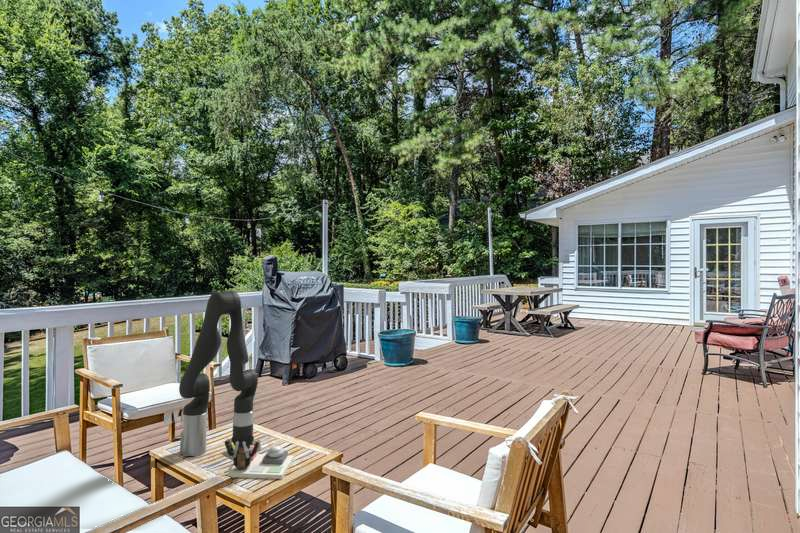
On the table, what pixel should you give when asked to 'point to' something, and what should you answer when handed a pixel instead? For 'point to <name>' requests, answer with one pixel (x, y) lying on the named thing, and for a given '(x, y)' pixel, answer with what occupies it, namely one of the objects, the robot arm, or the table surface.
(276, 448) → the dome
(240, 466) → the pawn
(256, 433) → the table surface
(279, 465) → the board
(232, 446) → the emergency button
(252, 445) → the die
